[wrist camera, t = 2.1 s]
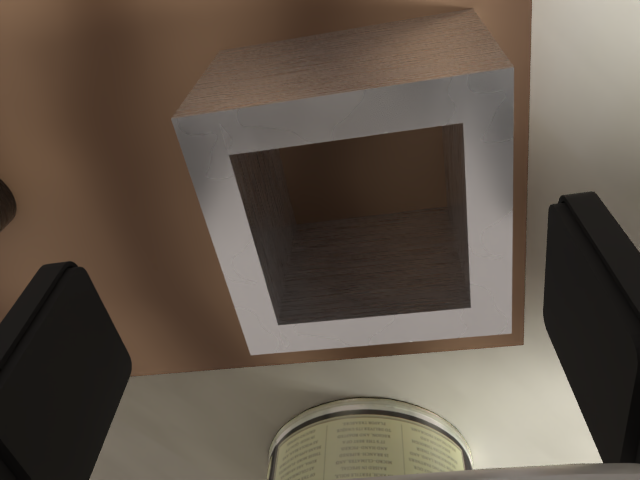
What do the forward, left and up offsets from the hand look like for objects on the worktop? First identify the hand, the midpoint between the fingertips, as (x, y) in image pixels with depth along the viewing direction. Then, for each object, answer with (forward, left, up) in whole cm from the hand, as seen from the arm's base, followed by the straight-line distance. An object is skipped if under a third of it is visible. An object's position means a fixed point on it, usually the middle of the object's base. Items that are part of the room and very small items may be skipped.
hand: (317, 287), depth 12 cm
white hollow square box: (-1, 0, -7) cm, 7 cm away
